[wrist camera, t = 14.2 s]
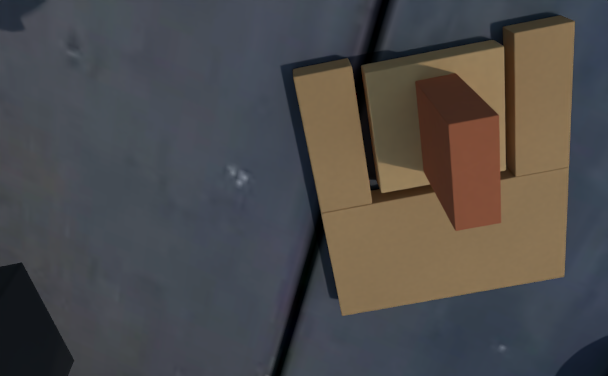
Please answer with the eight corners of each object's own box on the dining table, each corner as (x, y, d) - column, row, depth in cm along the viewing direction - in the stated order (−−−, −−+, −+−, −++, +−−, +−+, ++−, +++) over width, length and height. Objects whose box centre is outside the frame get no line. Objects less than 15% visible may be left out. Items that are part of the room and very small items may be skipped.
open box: (376, 181, 37) (403, 256, 29) (360, 64, 33) (386, 115, 25) (496, 159, 36) (556, 230, 28) (493, 39, 32) (561, 82, 25)
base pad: (339, 300, 41) (342, 316, 40) (292, 68, 33) (292, 77, 31) (553, 262, 40) (564, 276, 39) (560, 14, 32) (575, 20, 30)
